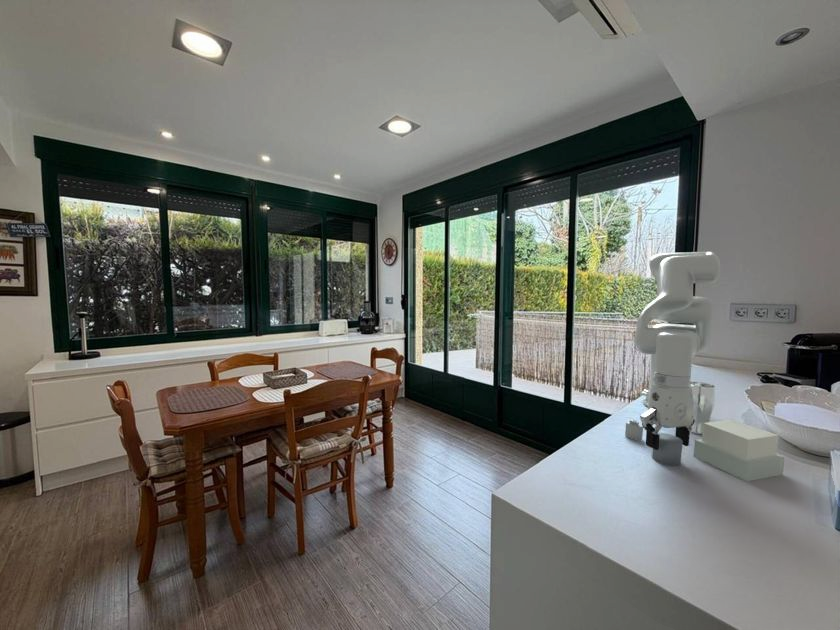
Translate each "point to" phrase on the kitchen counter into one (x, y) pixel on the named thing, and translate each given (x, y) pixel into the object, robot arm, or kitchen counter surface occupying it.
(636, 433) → the lighter
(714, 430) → the tower top block
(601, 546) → the kitchen counter surface
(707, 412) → the beer glass
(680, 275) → the robot arm
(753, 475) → the tower bottom block
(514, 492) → the kitchen counter surface
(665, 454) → the cylinder
